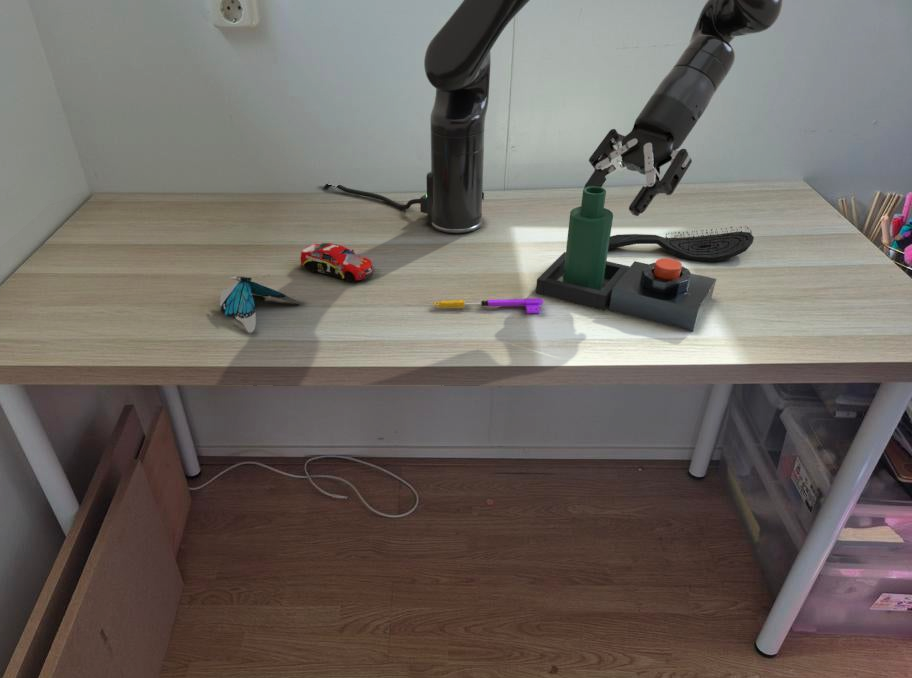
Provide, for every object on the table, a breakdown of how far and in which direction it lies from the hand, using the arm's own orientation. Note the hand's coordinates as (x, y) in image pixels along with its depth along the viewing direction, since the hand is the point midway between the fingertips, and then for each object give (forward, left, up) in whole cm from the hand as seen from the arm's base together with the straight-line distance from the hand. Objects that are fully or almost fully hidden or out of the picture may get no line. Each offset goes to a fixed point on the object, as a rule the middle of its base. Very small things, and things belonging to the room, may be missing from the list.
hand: (609, 204), depth 103 cm
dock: (-1, -3, -12) cm, 13 cm away
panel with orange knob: (+11, -3, -12) cm, 17 cm away
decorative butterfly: (-42, -34, -13) cm, 55 cm away
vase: (-1, -3, -12) cm, 13 cm away
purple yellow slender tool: (-4, -12, -12) cm, 17 cm away
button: (+11, -3, -7) cm, 13 cm away
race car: (-38, -17, -13) cm, 44 cm away
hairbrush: (+7, +16, -13) cm, 21 cm away
